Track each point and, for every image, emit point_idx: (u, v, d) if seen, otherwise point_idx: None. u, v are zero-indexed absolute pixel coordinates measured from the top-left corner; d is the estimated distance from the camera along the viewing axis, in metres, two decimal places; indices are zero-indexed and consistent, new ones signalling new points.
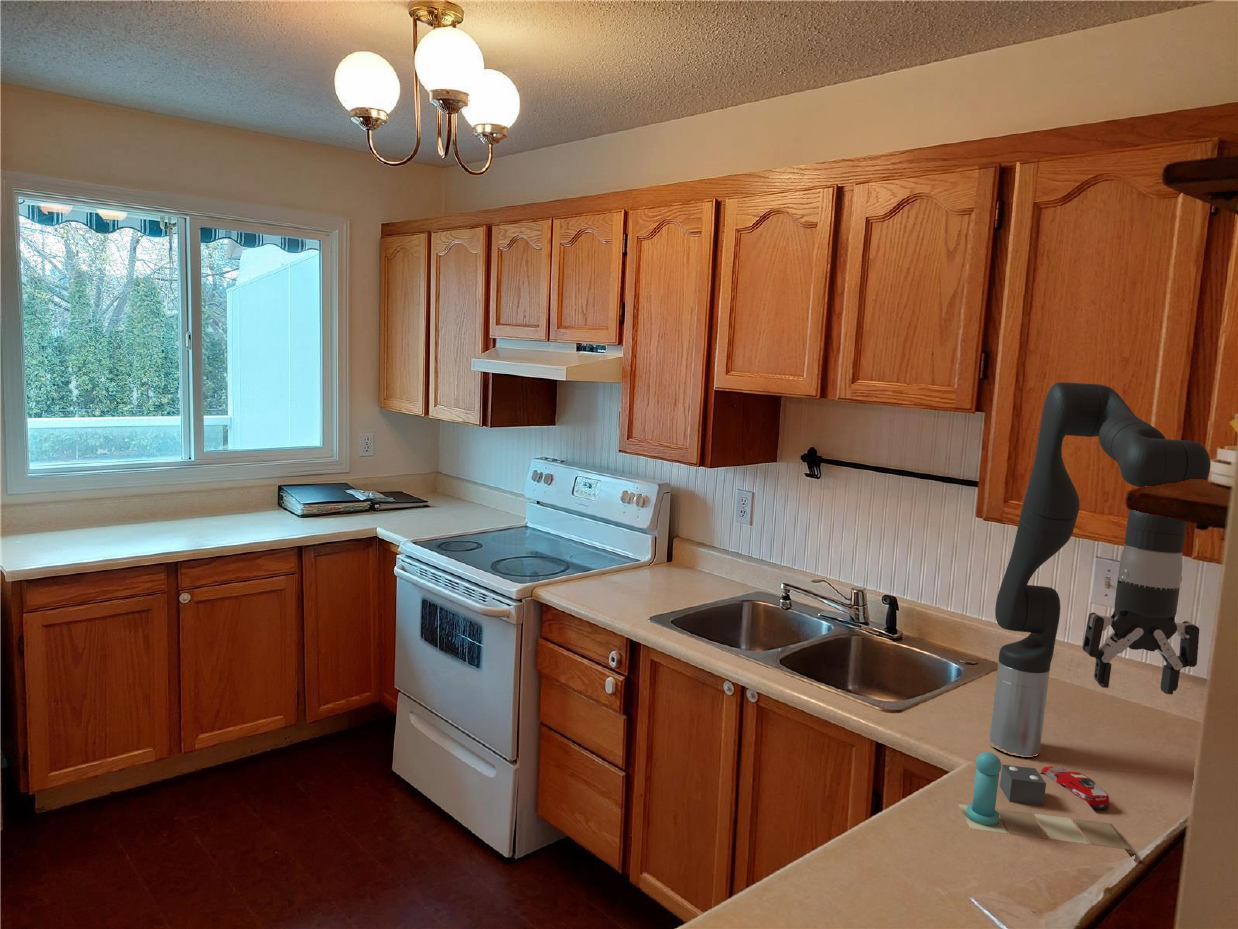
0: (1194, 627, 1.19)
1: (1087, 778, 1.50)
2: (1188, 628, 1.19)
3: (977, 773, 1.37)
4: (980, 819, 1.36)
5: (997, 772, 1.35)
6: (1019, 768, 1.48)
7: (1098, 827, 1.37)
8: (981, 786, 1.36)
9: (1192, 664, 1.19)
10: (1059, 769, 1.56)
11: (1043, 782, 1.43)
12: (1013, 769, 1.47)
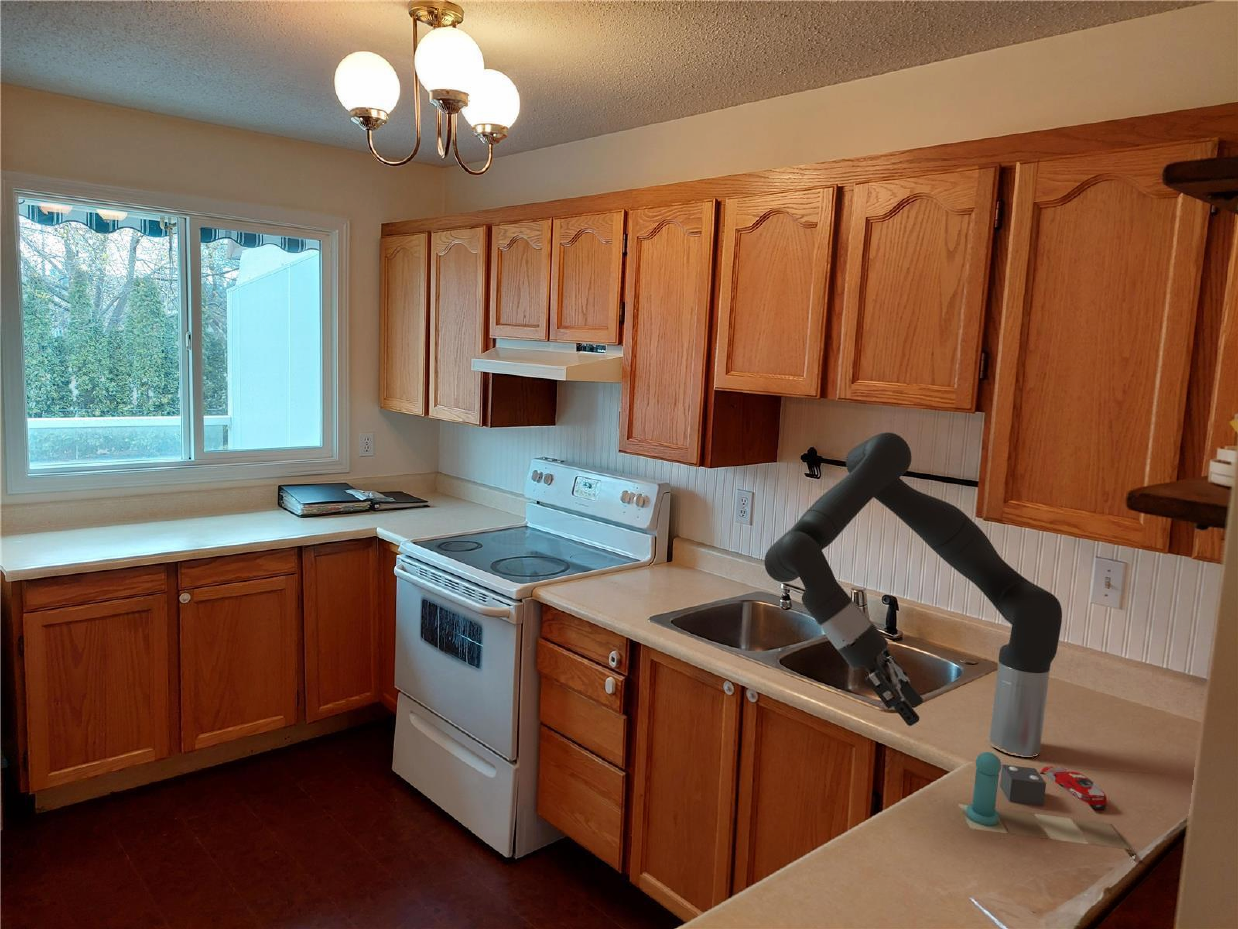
0: (886, 649, 1.48)
1: (1085, 778, 1.50)
2: (884, 653, 1.48)
3: (977, 773, 1.37)
4: (980, 819, 1.36)
5: (997, 772, 1.35)
6: (1019, 768, 1.48)
7: (1098, 827, 1.37)
8: (981, 786, 1.36)
9: (907, 673, 1.47)
10: (1059, 769, 1.56)
11: (1043, 782, 1.43)
12: (1013, 769, 1.47)
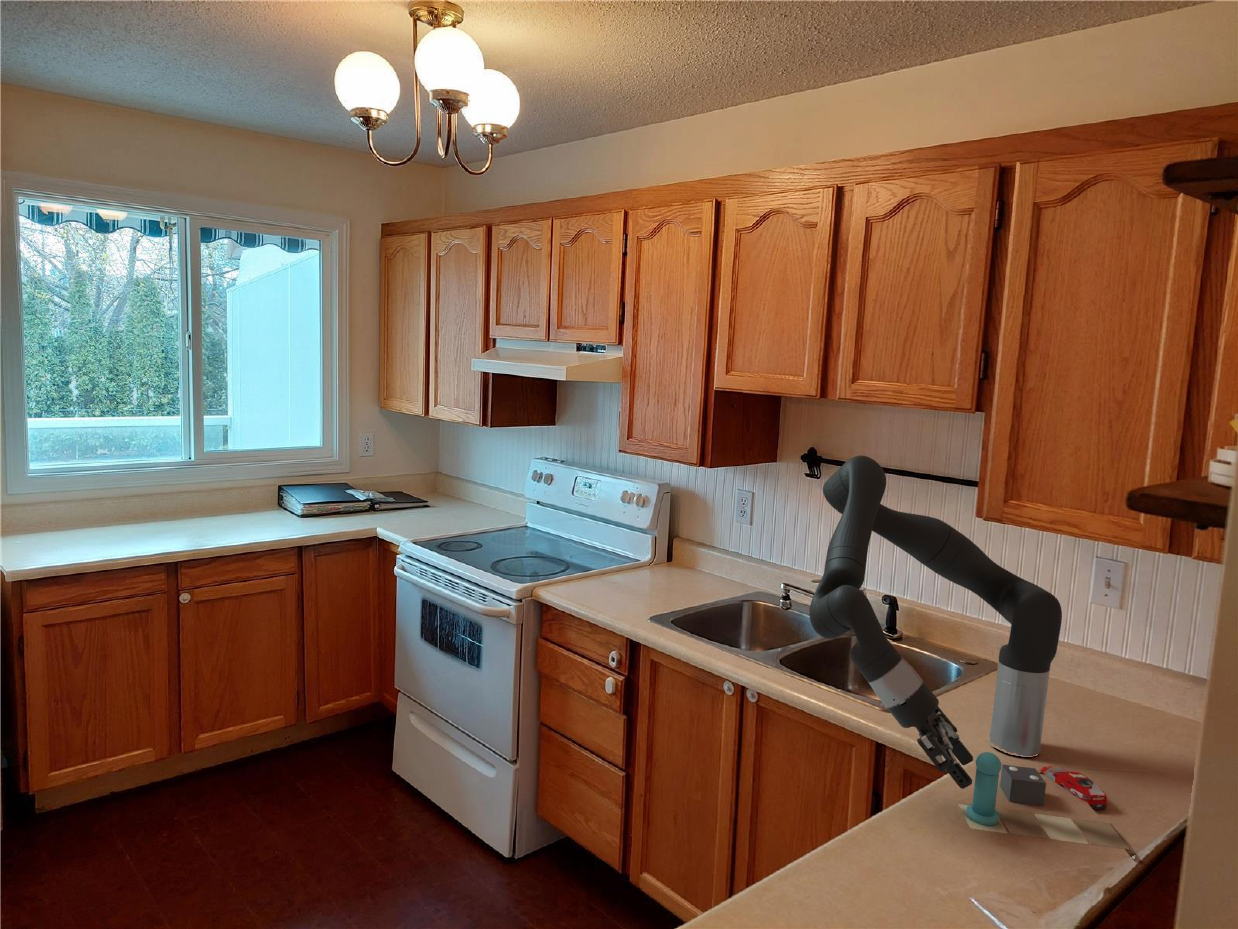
0: None
1: (1085, 778, 1.50)
2: None
3: (977, 773, 1.37)
4: (980, 819, 1.36)
5: (997, 772, 1.35)
6: (1019, 768, 1.48)
7: (1098, 827, 1.37)
8: (981, 786, 1.36)
9: (956, 729, 1.45)
10: (1058, 769, 1.56)
11: (1043, 782, 1.43)
12: (1013, 769, 1.47)
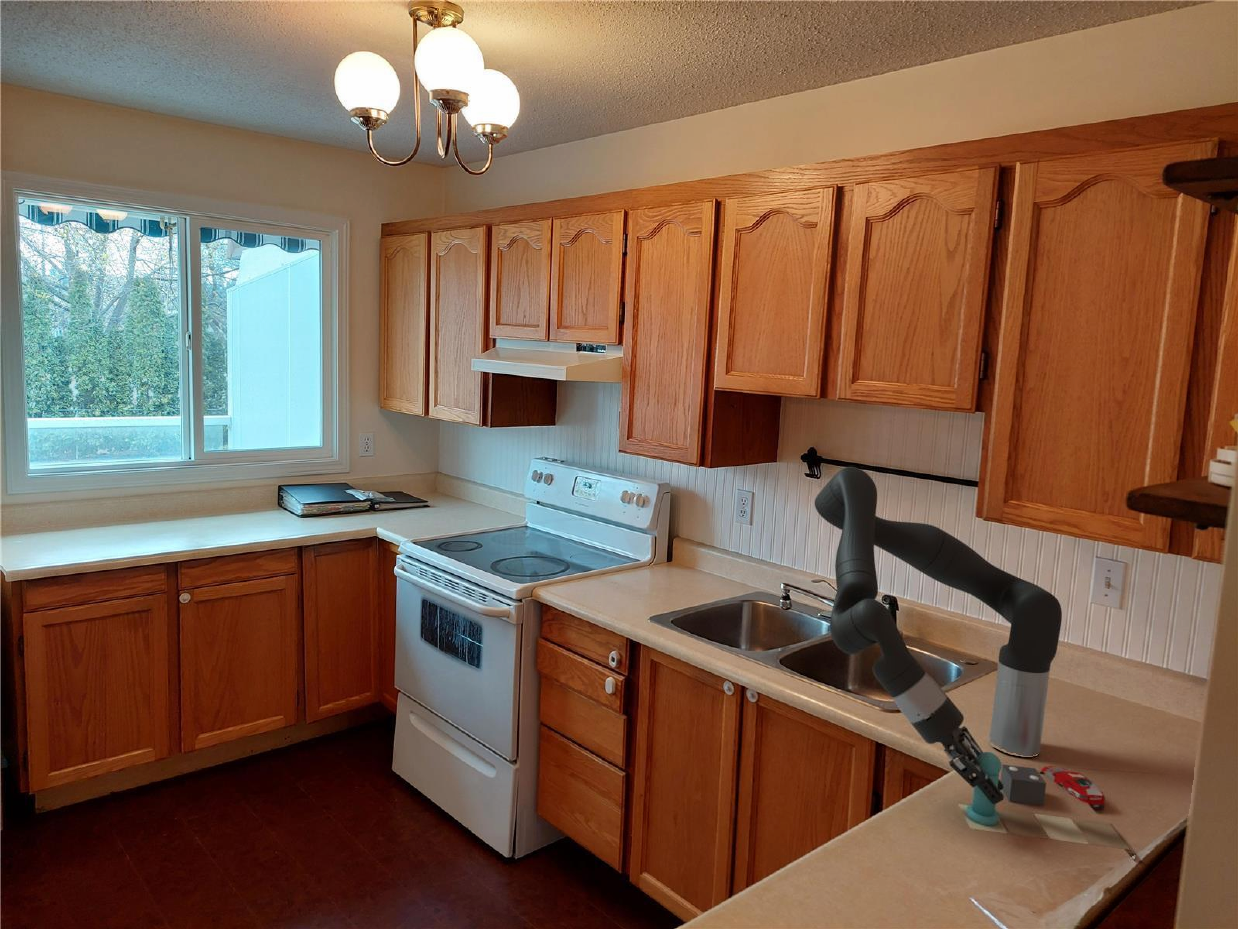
0: (964, 727, 1.44)
1: (1084, 778, 1.50)
2: (962, 731, 1.43)
3: None
4: (980, 819, 1.36)
5: (997, 772, 1.35)
6: (1019, 768, 1.48)
7: (1098, 827, 1.37)
8: None
9: None
10: (1059, 769, 1.56)
11: (1043, 782, 1.43)
12: (1013, 769, 1.47)
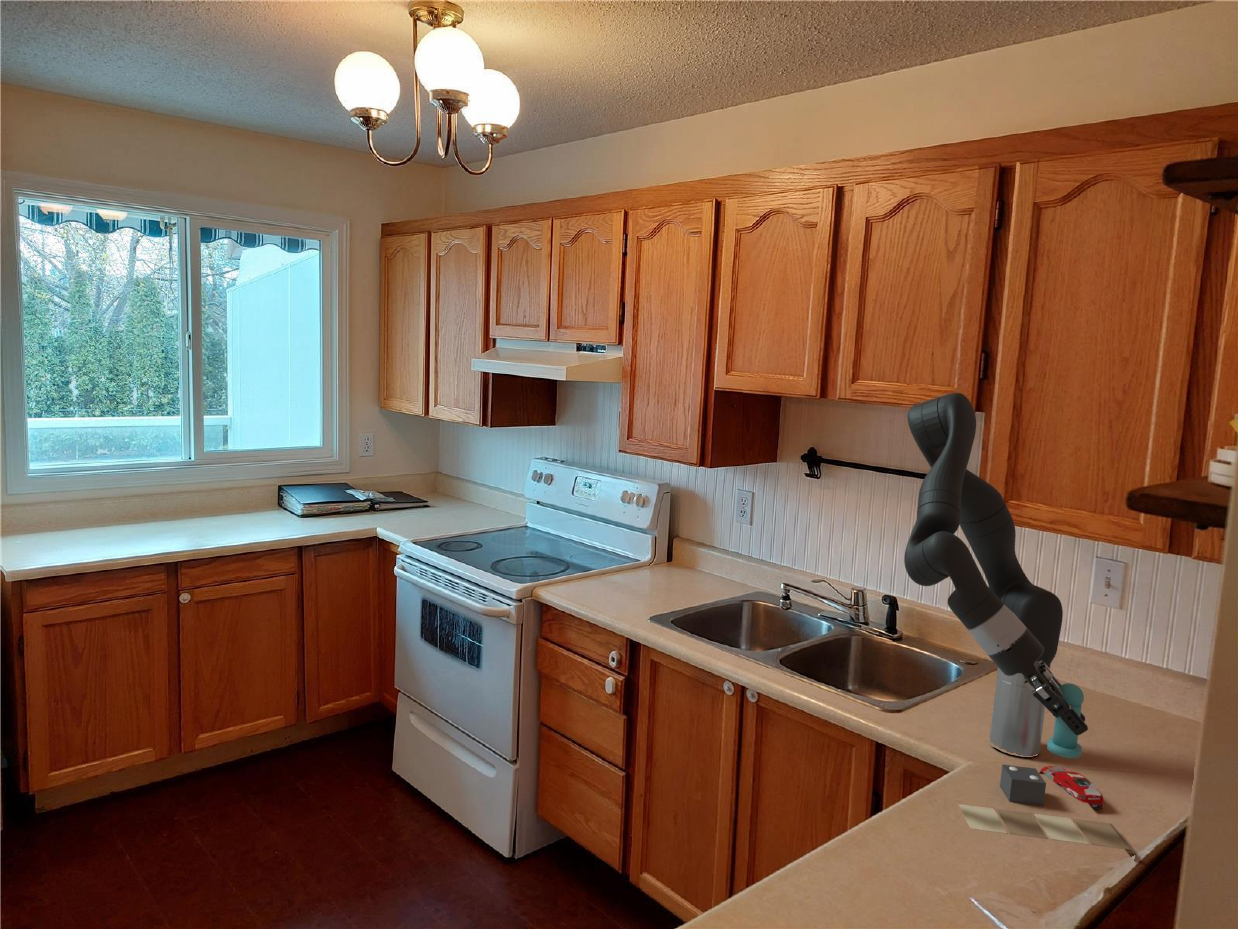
0: (1042, 661, 1.41)
1: (1083, 778, 1.50)
2: (1039, 664, 1.40)
3: (1059, 705, 1.34)
4: (1063, 751, 1.33)
5: (1080, 703, 1.32)
6: (1019, 768, 1.48)
7: (1098, 827, 1.37)
8: None
9: None
10: (1059, 769, 1.56)
11: (1043, 782, 1.43)
12: (1013, 769, 1.47)
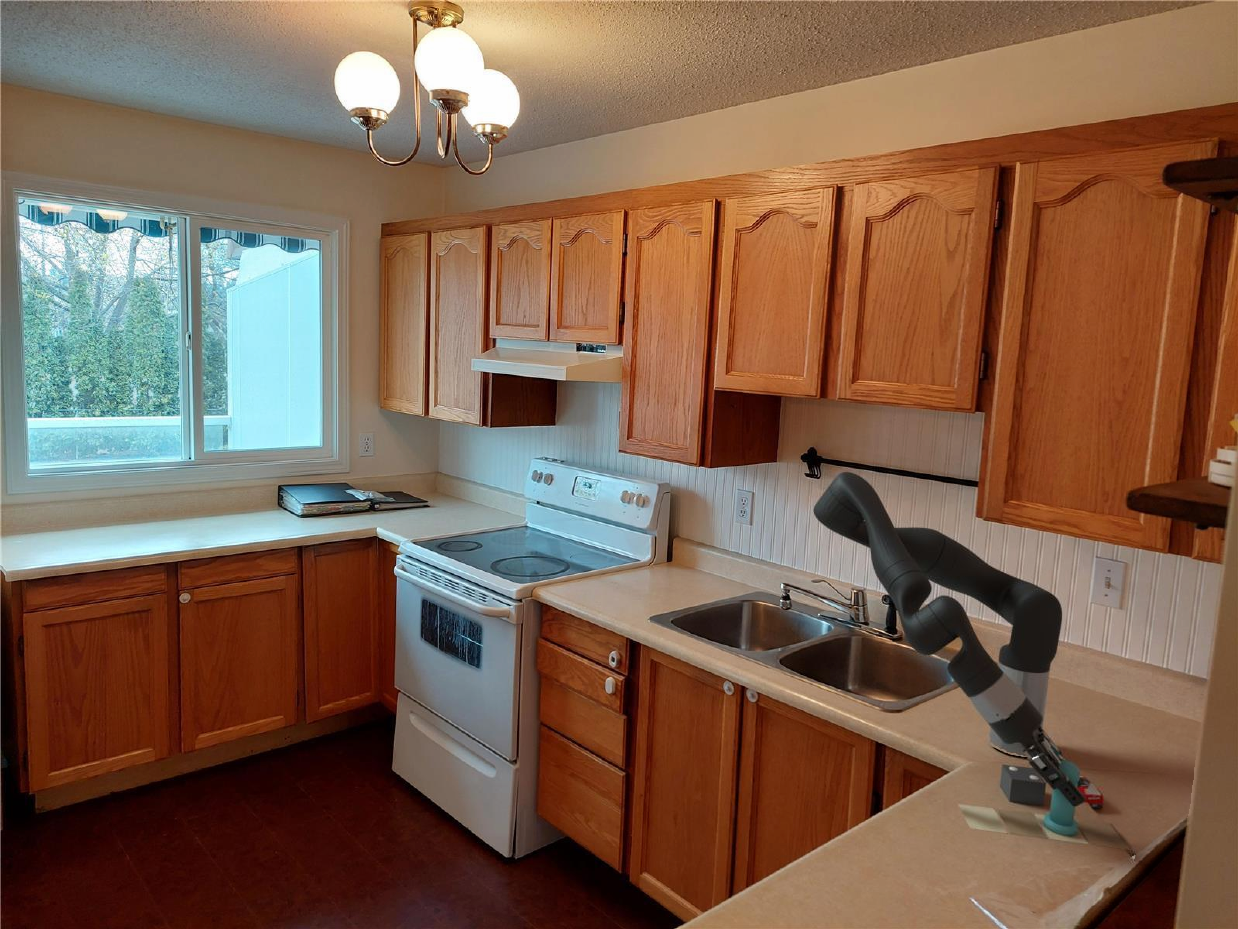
0: None
1: (1083, 778, 1.50)
2: None
3: None
4: (1059, 829, 1.34)
5: (1076, 781, 1.34)
6: (1019, 768, 1.48)
7: (1098, 827, 1.37)
8: (1060, 795, 1.35)
9: (1061, 752, 1.40)
10: None
11: (1043, 782, 1.43)
12: (1013, 769, 1.47)
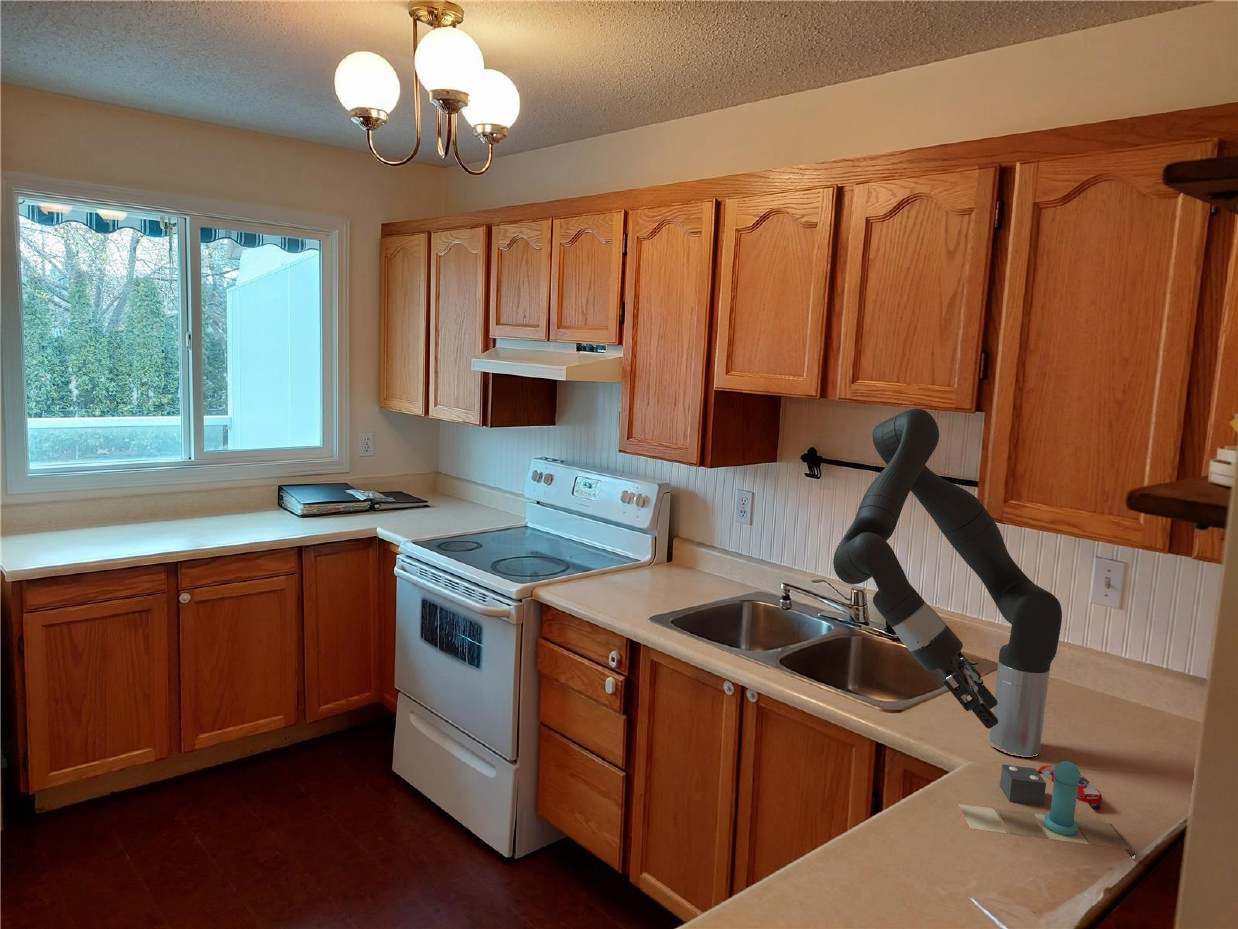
0: None
1: (1082, 777, 1.50)
2: (957, 655, 1.46)
3: (1056, 783, 1.35)
4: (1059, 829, 1.34)
5: (1077, 782, 1.34)
6: (1019, 768, 1.48)
7: (1098, 827, 1.37)
8: (1061, 796, 1.34)
9: None
10: None
11: (1043, 782, 1.43)
12: (1013, 769, 1.47)
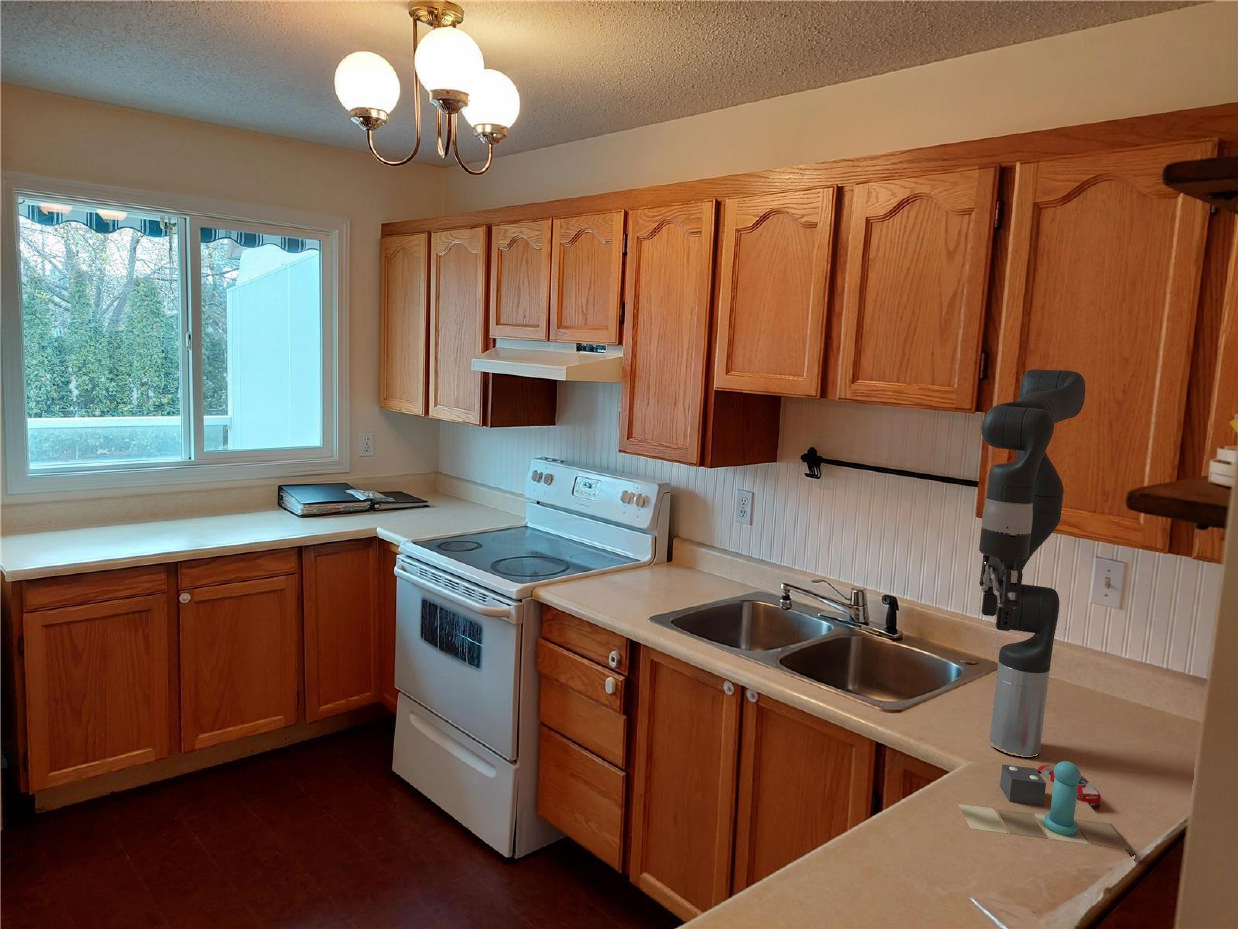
0: None
1: None
2: None
3: (1056, 783, 1.35)
4: (1059, 829, 1.34)
5: (1077, 782, 1.34)
6: (1019, 768, 1.48)
7: (1098, 827, 1.37)
8: (1061, 796, 1.34)
9: None
10: None
11: (1043, 782, 1.43)
12: (1013, 769, 1.47)
